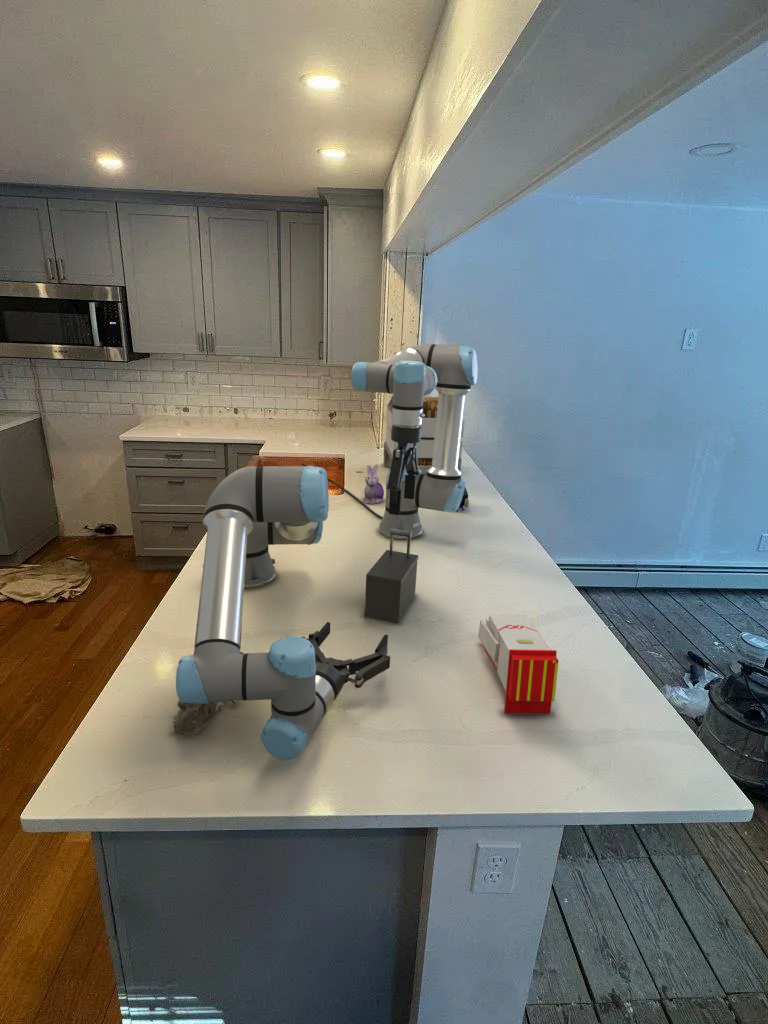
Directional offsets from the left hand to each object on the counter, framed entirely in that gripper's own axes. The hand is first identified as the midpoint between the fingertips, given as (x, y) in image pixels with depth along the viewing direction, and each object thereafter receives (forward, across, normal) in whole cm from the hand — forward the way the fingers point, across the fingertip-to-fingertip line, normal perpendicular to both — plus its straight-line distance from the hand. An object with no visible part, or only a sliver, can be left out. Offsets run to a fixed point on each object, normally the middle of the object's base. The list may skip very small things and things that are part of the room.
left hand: (357, 633), depth 126 cm
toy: (+8, +34, -7) cm, 35 cm away
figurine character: (+114, +1, -6) cm, 114 cm away
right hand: (+32, 0, +20) cm, 38 cm away
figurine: (+106, -33, -6) cm, 112 cm away
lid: (+27, 0, +4) cm, 27 cm away
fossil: (-24, -21, -7) cm, 32 cm away
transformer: (+156, -26, -6) cm, 158 cm away
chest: (+26, 0, -7) cm, 27 cm away
